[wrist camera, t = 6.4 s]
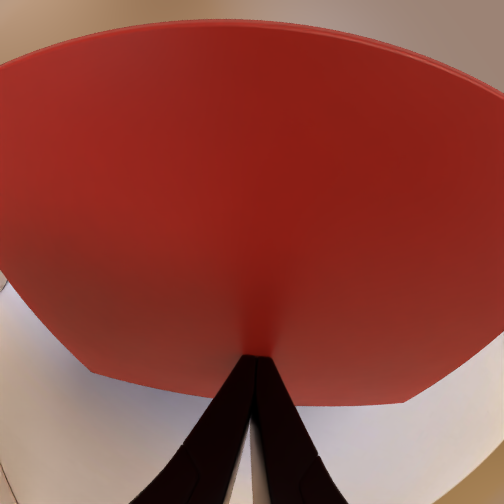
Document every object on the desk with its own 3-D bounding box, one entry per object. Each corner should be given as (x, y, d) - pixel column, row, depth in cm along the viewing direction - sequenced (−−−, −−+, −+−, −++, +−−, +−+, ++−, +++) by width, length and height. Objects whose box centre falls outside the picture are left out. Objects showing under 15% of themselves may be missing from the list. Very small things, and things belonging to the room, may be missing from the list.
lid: (-55, 94, 3) (-78, 111, 2) (598, 166, 3) (616, 187, 2) (95, 358, 13) (90, 372, 12) (402, 388, 12) (403, 402, 12)
